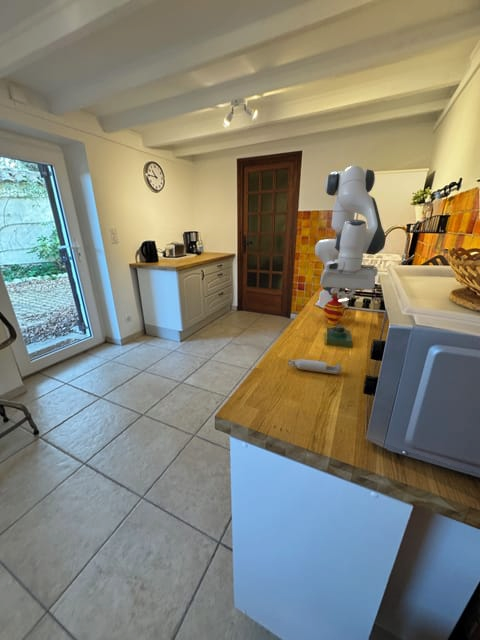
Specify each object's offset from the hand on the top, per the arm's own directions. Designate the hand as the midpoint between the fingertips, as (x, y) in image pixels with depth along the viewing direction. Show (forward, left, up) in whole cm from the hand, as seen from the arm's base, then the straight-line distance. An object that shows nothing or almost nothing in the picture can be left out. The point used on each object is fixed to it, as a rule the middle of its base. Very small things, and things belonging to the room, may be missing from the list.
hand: (344, 298), depth 104 cm
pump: (0, 0, -14) cm, 14 cm away
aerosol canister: (+37, -9, -17) cm, 41 cm away
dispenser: (0, 0, -19) cm, 19 cm away
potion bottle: (-21, -2, -19) cm, 29 cm away
